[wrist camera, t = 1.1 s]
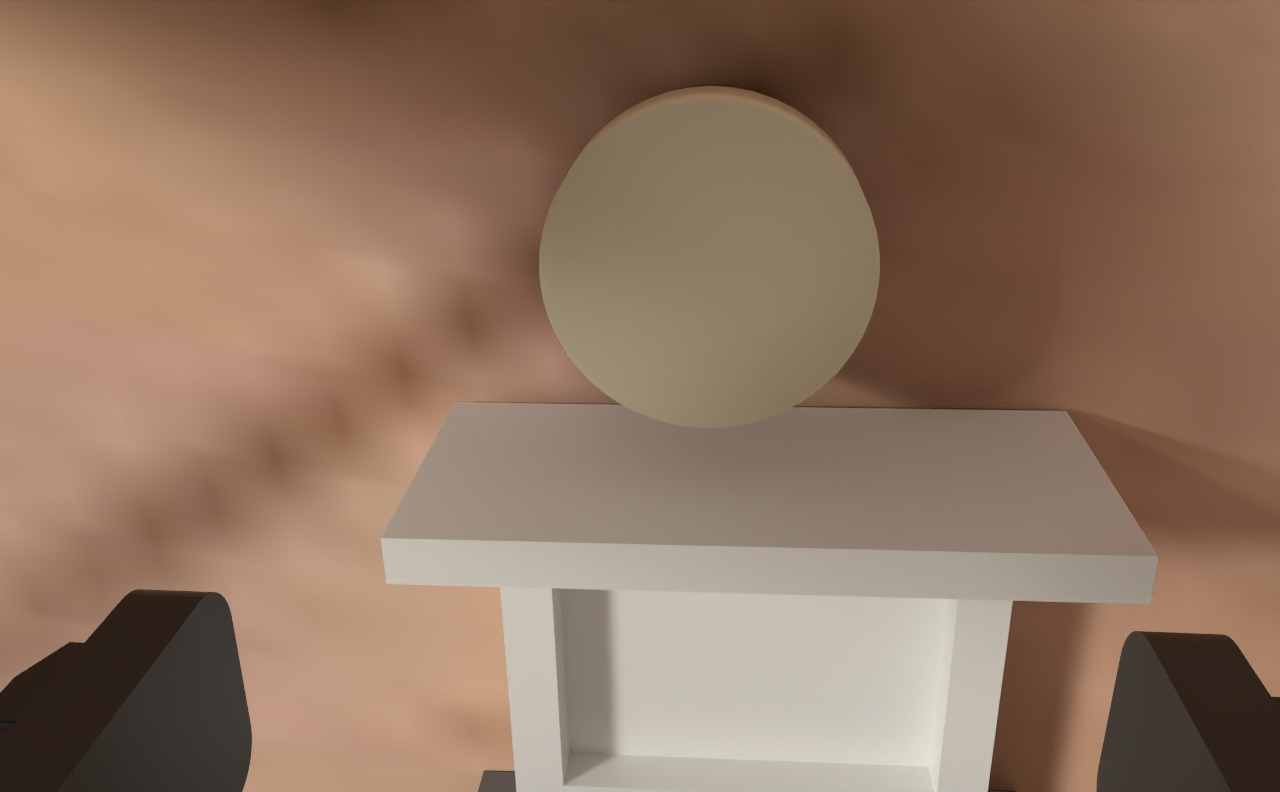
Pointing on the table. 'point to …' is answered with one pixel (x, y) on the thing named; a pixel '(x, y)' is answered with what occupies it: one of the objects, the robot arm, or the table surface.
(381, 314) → the table surface
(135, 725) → the robot arm
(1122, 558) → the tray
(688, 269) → the cream domed part
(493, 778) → the housing
